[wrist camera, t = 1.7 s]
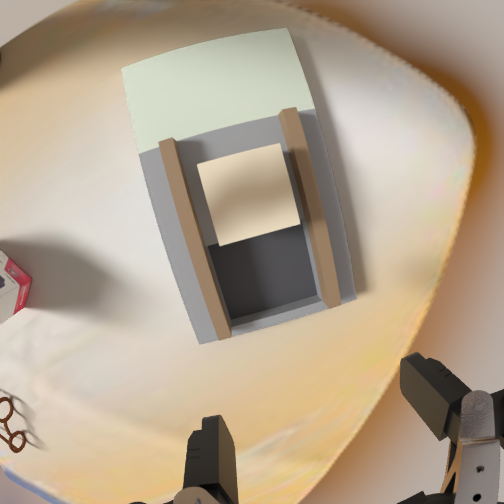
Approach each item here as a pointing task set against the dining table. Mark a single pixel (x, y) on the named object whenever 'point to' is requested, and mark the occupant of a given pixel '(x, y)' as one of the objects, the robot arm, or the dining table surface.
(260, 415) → the dining table surface
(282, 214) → the beech block
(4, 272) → the ink box
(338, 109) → the dining table surface
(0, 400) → the glasses
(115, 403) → the dining table surface
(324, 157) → the channel deck
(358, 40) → the dining table surface
